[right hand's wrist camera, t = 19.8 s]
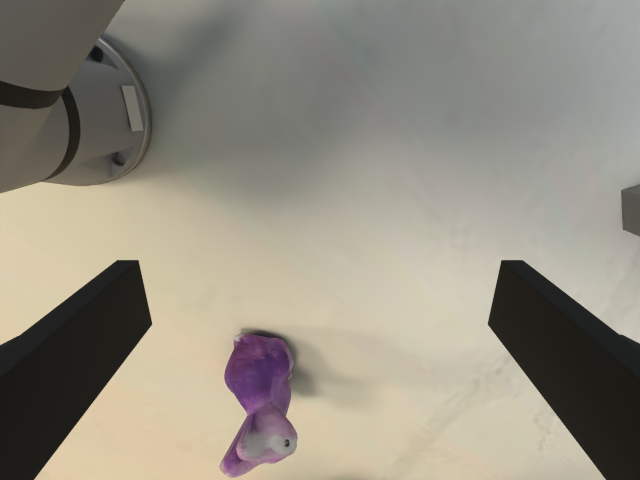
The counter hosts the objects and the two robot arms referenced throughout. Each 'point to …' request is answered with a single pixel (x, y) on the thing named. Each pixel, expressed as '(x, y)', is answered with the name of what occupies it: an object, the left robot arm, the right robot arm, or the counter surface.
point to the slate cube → (631, 209)
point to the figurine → (260, 403)
